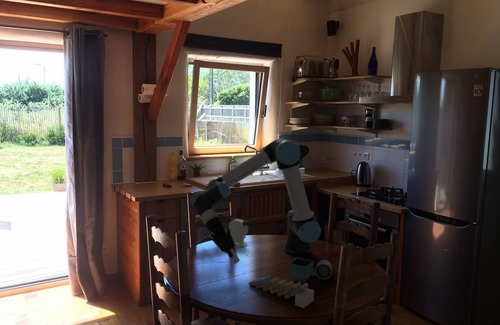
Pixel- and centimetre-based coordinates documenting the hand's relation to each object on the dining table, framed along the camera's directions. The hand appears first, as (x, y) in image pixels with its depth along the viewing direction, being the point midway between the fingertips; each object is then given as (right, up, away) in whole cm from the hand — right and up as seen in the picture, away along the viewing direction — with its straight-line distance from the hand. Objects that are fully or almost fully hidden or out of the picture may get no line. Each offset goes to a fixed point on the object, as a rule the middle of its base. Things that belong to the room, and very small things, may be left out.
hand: (237, 262), depth 188 cm
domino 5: (+19, -10, -14) cm, 26 cm away
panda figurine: (-1, -2, +48) cm, 48 cm away
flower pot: (+29, -9, 0) cm, 30 cm away
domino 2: (+10, -9, -7) cm, 15 cm away
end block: (+28, -11, -21) cm, 37 cm away
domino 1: (+7, -8, -5) cm, 12 cm away
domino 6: (+22, -10, -17) cm, 29 cm away
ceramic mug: (+39, -8, +5) cm, 40 cm away
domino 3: (+13, -9, -10) cm, 19 cm away
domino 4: (+16, -9, -12) cm, 22 cm away
